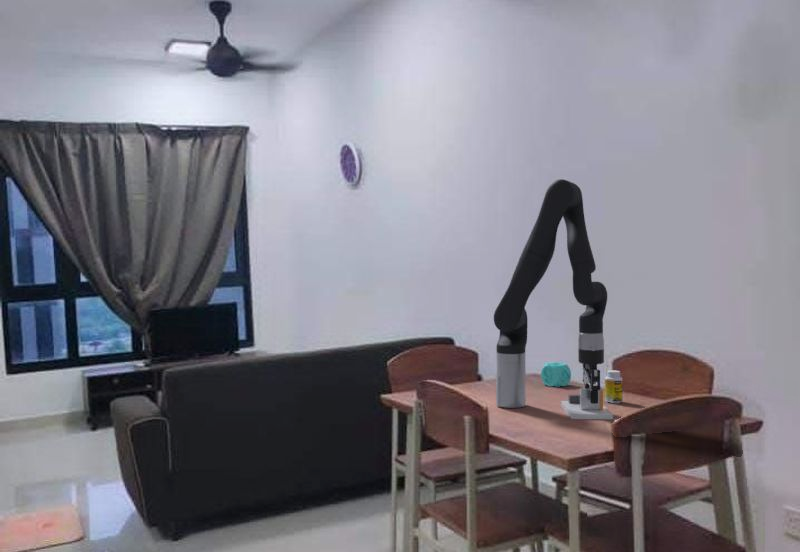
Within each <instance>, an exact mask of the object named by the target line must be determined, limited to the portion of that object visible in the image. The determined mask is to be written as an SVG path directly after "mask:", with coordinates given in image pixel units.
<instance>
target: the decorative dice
mask: <svg viewBox="0 0 800 552" xmlns="http://www.w3.org/2000/svg"><path fill="white" fill-rule="evenodd" d="M540 376H541V380H542V383H543V384H544V385H545V386H546V385H547V386H546V387H550V386H555V387H554V388H561V387H560V386H565V387H567V386H568V385H569V384H570V382H571V378H572V372H571V368H570V366H568V364H567V363H565V362H546V363H544V365H543V366H542V367H541V371H540Z"/></svg>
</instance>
